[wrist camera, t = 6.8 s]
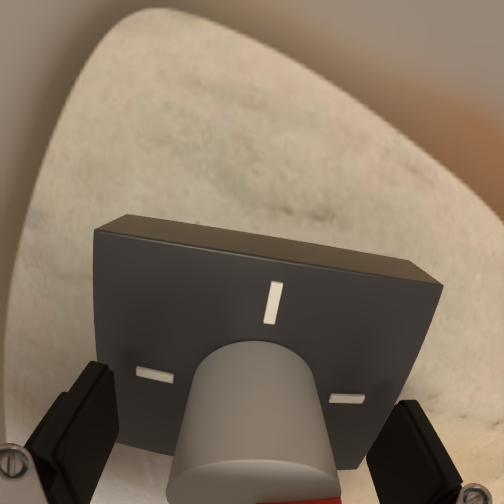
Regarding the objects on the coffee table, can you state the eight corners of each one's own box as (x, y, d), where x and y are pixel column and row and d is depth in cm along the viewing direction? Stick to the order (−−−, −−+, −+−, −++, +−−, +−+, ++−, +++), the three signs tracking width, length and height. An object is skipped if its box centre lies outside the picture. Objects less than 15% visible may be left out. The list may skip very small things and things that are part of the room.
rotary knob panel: (125, 402, 15) (107, 443, 12) (126, 213, 12) (90, 230, 9) (345, 430, 16) (357, 472, 12) (410, 260, 13) (447, 286, 10)
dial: (198, 428, 12) (179, 539, 6) (187, 338, 10) (145, 463, 5) (307, 428, 12) (327, 539, 6) (320, 338, 10) (361, 463, 5)
